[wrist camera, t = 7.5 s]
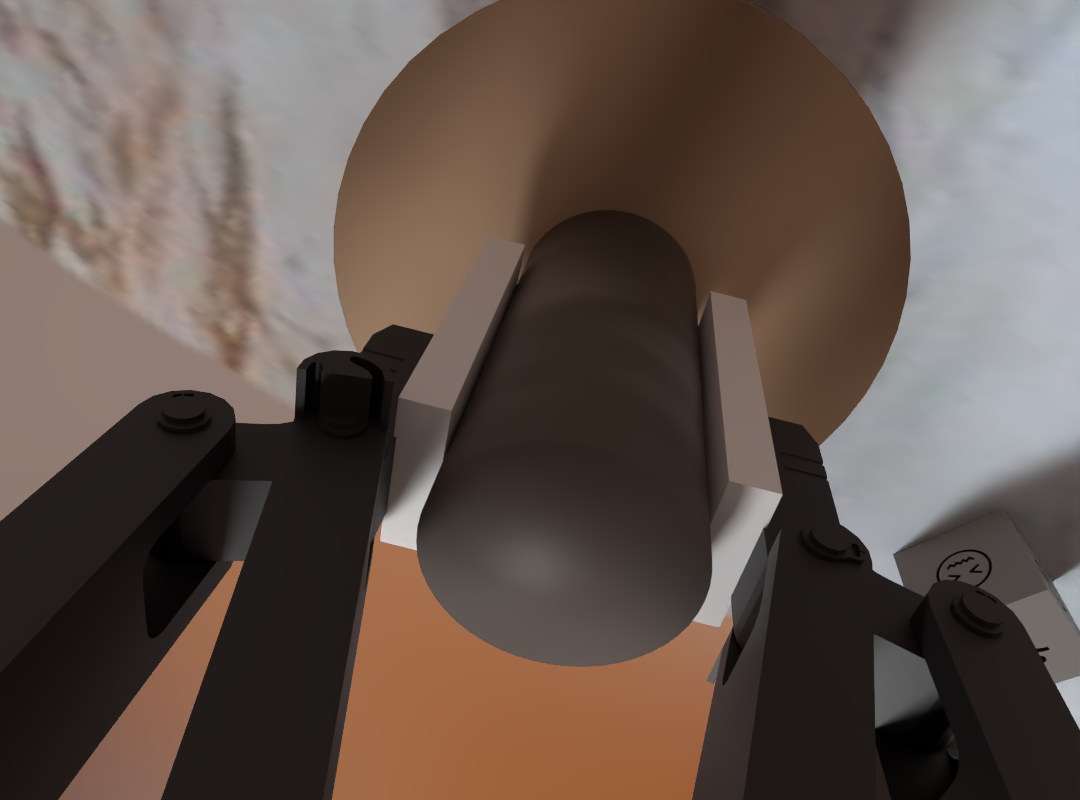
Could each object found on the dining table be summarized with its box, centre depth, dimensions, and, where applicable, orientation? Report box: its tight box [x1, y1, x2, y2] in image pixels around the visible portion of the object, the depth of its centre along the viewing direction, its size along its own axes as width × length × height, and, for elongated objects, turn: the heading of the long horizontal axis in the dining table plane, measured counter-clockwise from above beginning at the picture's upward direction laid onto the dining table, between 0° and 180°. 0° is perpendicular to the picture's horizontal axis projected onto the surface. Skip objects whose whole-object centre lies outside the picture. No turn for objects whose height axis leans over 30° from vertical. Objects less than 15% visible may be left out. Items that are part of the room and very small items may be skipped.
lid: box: [334, 0, 911, 667], centre depth 15 cm, size 13×13×10 cm
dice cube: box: [893, 508, 1080, 683], centre depth 34 cm, size 5×5×5 cm
